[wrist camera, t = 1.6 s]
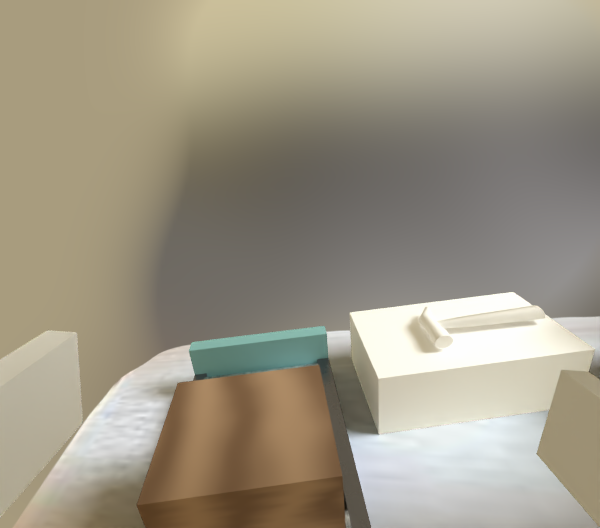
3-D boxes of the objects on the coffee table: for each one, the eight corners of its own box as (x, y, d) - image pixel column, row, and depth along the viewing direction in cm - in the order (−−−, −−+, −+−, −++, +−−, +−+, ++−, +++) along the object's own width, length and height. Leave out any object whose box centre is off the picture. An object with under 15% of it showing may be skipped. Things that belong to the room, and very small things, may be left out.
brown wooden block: (324, 424, 39) (319, 364, 36) (347, 547, 28) (342, 476, 25) (194, 442, 38) (177, 382, 35) (164, 574, 27) (136, 505, 24)
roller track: (327, 371, 54) (325, 346, 52) (383, 607, 28) (383, 573, 26) (202, 387, 53) (196, 362, 51) (141, 646, 27) (124, 614, 25)
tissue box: (351, 360, 56) (349, 298, 52) (505, 339, 57) (515, 278, 53) (378, 436, 43) (378, 361, 38) (578, 407, 44) (599, 332, 40)
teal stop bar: (327, 371, 54) (324, 325, 50) (329, 380, 52) (326, 333, 49) (202, 387, 53) (191, 342, 50) (200, 397, 51) (188, 350, 48)
